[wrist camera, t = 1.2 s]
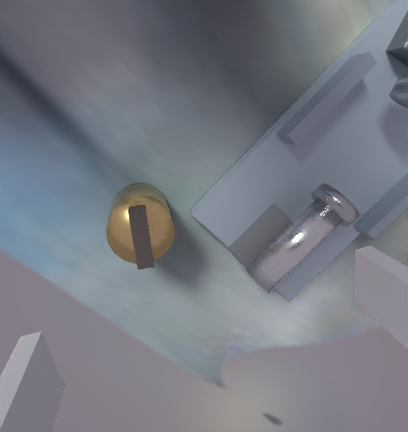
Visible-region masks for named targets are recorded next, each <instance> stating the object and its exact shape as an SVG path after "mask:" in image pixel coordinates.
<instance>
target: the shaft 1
mask: <svg viewBox="0 0 408 432" xmlns="http://www.w3.org/2000/svg"><path fill="white" fill-rule="evenodd" d="M311 196H312V198H313V200H314V201H313V202H312V203H311V204H310V205H309V206H308V207H307V208H306V209H305V210H304V211H303V212H302V213H301V214H300V215H299V216H298V217H297V218H296V219H295V220H294V221H293V222H292V223H291V224H290V225H289V226H288V227H287V228H286V229H285V230H284V231H283V232H282V233H281V234H280V235H279V236H278V237H277V238H275V239H274V240H273V241H272V242H271V243H270V244H269V245H268V246H267V247H266V248H265V249H264V250H263V251H262V252H261V253H260V254H259V255H258V256H257V257H256V258H255V259H254V260H253V261H252V262H251V263H250V264H249V265H248V266H247V267H246V270H247V272H248V273H249V274H250V275H251V276H252V278H253V279H254V280H255V281H256V282H257V283H258V284H259V285H260V286H261V287H262V288H263V289H264V290H266V291H267V292H268V293H270V292H271V291H272V290H273V289H274V288H275V287H276V286H277V285H278V284H279V283H280V282H281V281H282V280H283V279H285V278H286V277H287V276H288V275H289V274H290V273H291V272H292V271H293V270H294V269H295V268H296V267H297V266H298V265H299V264H300V263H301V262H302V261H303V260H304V259H305V258H306V257H307V256H308V255H309V254H310V253H312V252H313V251H314V250H315V249H316V248H317V247H318V246H319V245H320V244H321V243H322V242H323V241H324V240H325V239H326V238H327V237H328V236H329V235H330V234H331V233H332V232H333V231H334V230H335V229H336V228H337V227H338V226H340V225H343V226H345V227H349V226H350V225H351V224H352V223H353V222H354V221H355V220H356V219H357V218H359V217H360V214H359V212H358V210H357V209H356V207H355V206H354V205H353V204H352V203H351V202H350V201H349V200H348V199H347V198H346V197H345V196H344V195H343V194H341V193H340V192H339V191H337V190H336V189H334V188H333V187H331V186H329V185H327V184H324V183H322V184H320V185H319V186H318V187H317V188H316V189H315V190H314V191H313V192H312V193H311Z"/></svg>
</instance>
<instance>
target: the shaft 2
mask: <svg viewBox="0 0 408 432" xmlns="http://www.w3.org/2000/svg"><path fill="white" fill-rule="evenodd" d="M386 52H387V53H389V54H390V55H391V56H393V57H394V58H395V59H397V60H398V61H400V62H401V63H402V64H404V65H405V66H407V67H408V11H407V13H406V14H405V16H404V18H403V20H402V22H401V24H400V25H399V27H398V29H397V31H396V33H395V35H394V37H393V38H392V40H391V42H390V44H389V46H388V48H387V49H386ZM389 96H390V98H391V99H392V100H393V101H395V102H396V103H398V104H399V105H401V106H403V107H406V108H408V75H403V76H401V77H399V78H398V79H397V81H396V83H395V84H394V86H393V88H392V90H391V92H390V94H389Z"/></svg>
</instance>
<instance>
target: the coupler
mask: <svg viewBox="0 0 408 432" xmlns="http://www.w3.org/2000/svg"><path fill="white" fill-rule="evenodd" d="M174 236H175V228H174V223H173V220H172V217H171V214H170V211H169V208H168V205H167V202H166V199H165V197H164V195H163V194H162V193H161V192H160V191H159V190H158V189H157V188H155V187H154V186H152V185H149V184H145V183H136V184H131V185H129V186H127V187H125V188H123V189H122V190H121V191H120V192H119V193H118V194H117V196H116V198H115V200H114V203H113V206H112V210H111V214H110V218H109V222H108V225H107V240H108V243H109V245H110V247H111V249H112V250H113V251H114V253H115V254H116V255H118V256H119V257H120V258H122V259H124V260H126V261H128V262H132V263H137V267H138V269H144V268H150V267H154V261H155V260H157V259H159V258H160V257H162V256H163V255H164V254H165V253H166V252H167V251H168V250H169V249H170V247H171V245H172V243H173V240H174Z"/></svg>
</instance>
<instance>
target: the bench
mask: <svg viewBox="0 0 408 432" xmlns="http://www.w3.org/2000/svg"><path fill="white" fill-rule="evenodd" d="M407 11H408V0H393V1H392V2H391V3H390V4H389V5H388V6H387V7H386V8H385V9H384V10H383V11H382V12H381V14H380V15H379V16H378V17H377V18H376V19H375V20H374V21H373V22H372V23H371V24H370V25H369V26H368V27H367V28H366V29H365V30H364V31H363V32H362V33H361V34H360V35H359V36H358V37H357V38H356V39H355V40H354V41H353V42H352V43H351V44H350V46H349V47H348V48H347V49H346V50H345V51H344V52H343V53H342V54H341V55H340V56H339V57H338V58H337V59H336V60H335V61H334V62H333V63H332V64H331V65H330V66H329V67H328V68H327V69H326V70H325V71H324V72H323V73H322V74H321V75H320V76H319V78H318V79H317V80H316V81H315V82H314V83H313V84H312V85H311V86H310V87H309V88H308V89H307V90H306V91H305V92H304V93H303V94H302V95H301V96H300V97H299V98H298V99H297V100H296V101H295V102H294V103H293V104H292V105H291V106H290V107H289V109H288V110H287V111H286V112H285V113H284V114H283V115H282V116H281V117H280V118H279V119H278V120H277V121H276V122H275V123H274V124H273V125H272V126H271V127H270V128H269V129H268V130H267V131H266V132H265V133H264V134H263V135H262V136H261V137H260V138H259V139H258V141H257V142H256V143H255V144H254V145H253V146H252V147H251V148H250V149H249V150H248V151H247V152H246V153H245V154H244V155H243V156H242V157H241V158H240V159H239V160H238V161H237V162H236V163H235V164H234V165H233V166H232V167H231V168H230V169H229V170H228V171H227V173H226V174H225V175H224V176H223V177H222V178H221V179H220V180H219V181H218V182H217V183H216V184H215V185H214V186H213V187H212V188H211V189H210V190H209V191H208V192H207V193H206V194H205V195H204V196H203V197H202V198H201V199H200V200H199V201H198V202H197V203H196V205H195V206H194V207H193V208H192V209H191V210H190V212H191V214H192V216H194V217H195V218H196V219H197V220H198V221H199V222H200V223H201V224H202V225H204V226H205V227H206V228H207V229H208V230H209V231H210V232H211V233H213V234H214V235H215V236H216V237H217V238H218V239H219V240H220V241H222V242H223V243H224V244H225V245H226V246H227V247H228V248H229V249H230V251H231V252H232V254H233V255H234V257H235V258H237V259H238V260H239V261H240V262H241V263H242V264H243V265H244V266H246V267H247V266H248V265H249V264H250V263H251V262H252V261H253V260H254V259H255V258H256V257H257V256H258V255H259V254H260V253H261V252H262V251H263V250H264V249H265V248H266V247H267V246H268V245H269V244H270V243H271V242H272V241H273V240H274V239H275V238H277V237H278V236H279V235H280V234H281V233H282V232H283V231H284V230H285V229H286V228H287V227H288V226H289V225H290V224H291V223H292V222H293V221H294V220H295V219H296V218H297V217H298V216H299V215H300V214H301V213H302V212H303V211H304V210H305V209H306V208H307V207H308V206H309V205H310V204H311V203H312V202H313V201H314V200H313V198H312V196H311V193H312V192H313V191H314V190H315V189H316V188H317V187H318V186H319V185H320V184H322V183H324V184H327V185H329V186H331V187H333V188H334V189H336V190H337V191H339V192H340V193H341V194H343V195H344V196H345V197H346V198H347V199H348V200H349V201H350V202H351V203H352V204H353V205H354V206H355V207H356V209H357V210H358V212H359V214H360V217H359V218H357V219H356V220H355V221H354V222H353V223H352V224H351V225H350V226H349V227H345V226H343V225H340V226H338V227H337V228H336V229H335V230H334V231H333V232H332V233H331V234H330V235H329V236H328V237H327V238H326V239H325V240H324V241H323V242H322V243H321V244H320V245H319V246H318V247H317V248H316V249H315V250H314V251H313V252H312V253H310V254H309V255H308V256H307V257H306V258H305V259H304V260H303V261H302V262H301V263H300V264H299V265H298V266H297V267H296V268H295V269H294V270H293V271H292V272H291V273H290V274H289V275H288V276H287V277H286V278H285V279H283V280H282V281H281V282H280V283H279V284H278V285H277V286H276V287H275V288H274V289H275V290H276V291H278V292H279V293H280V294H281V295H282V296H283V297H284V298H285V299H287V300H288V301H290V300H291V299H292V298H293V297H294V296H295V295H296V294H298V293H299V292H300V291H301V290H302V289H303V288H304V287H305V286H306V285H307V284H308V283H309V282H310V281H311V280H312V279H313V278H314V277H315V276H316V275H317V274H319V273H320V272H321V271H322V270H323V269H324V268H325V267H326V266H327V265H328V264H329V263H330V262H331V261H332V260H333V259H334V258H335V257H336V256H337V255H338V254H340V253H341V252H342V251H343V250H344V249H345V248H346V247H347V246H348V245H349V244H350V243H351V242H352V241H353V240H354V239H355V238H356V237H357V236H358V235H359V234H361V233H362V234H364V235H366V236H367V237H369V238H371V239H373V240H374V239H375V238H376V237H377V236H379V235H380V234H381V233H382V232H383V231H384V230H385V229H386V228H387V227H388V226H389V225H390V224H391V223H392V222H393V221H394V220H395V219H397V218H398V217H399V216H400V215H401V214H402V213H403V212H404V211H405V210H406V209H407V208H408V108H406V107H403V106H401V105H399V104H398V103H396V102H395V101H393V100H392V99H391V98H390V96H389V94H390V92H391V90H392V88H393V86H394V84H395V83H396V81H397V79H398V78H399V77H401V76H403V75H408V67H407V66H405V65H404V64H402V63H401V62H400V61H398V60H397V59H395V58H394V57H393V56H391V55H390V54H389V53H387V52H386V49H387V48H388V46H389V44H390V42H391V40H392V38H393V37H394V35H395V33H396V31H397V29H398V27H399V25H400V24H401V22H402V20H403V18H404V16H405V14H406V13H407Z"/></svg>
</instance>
